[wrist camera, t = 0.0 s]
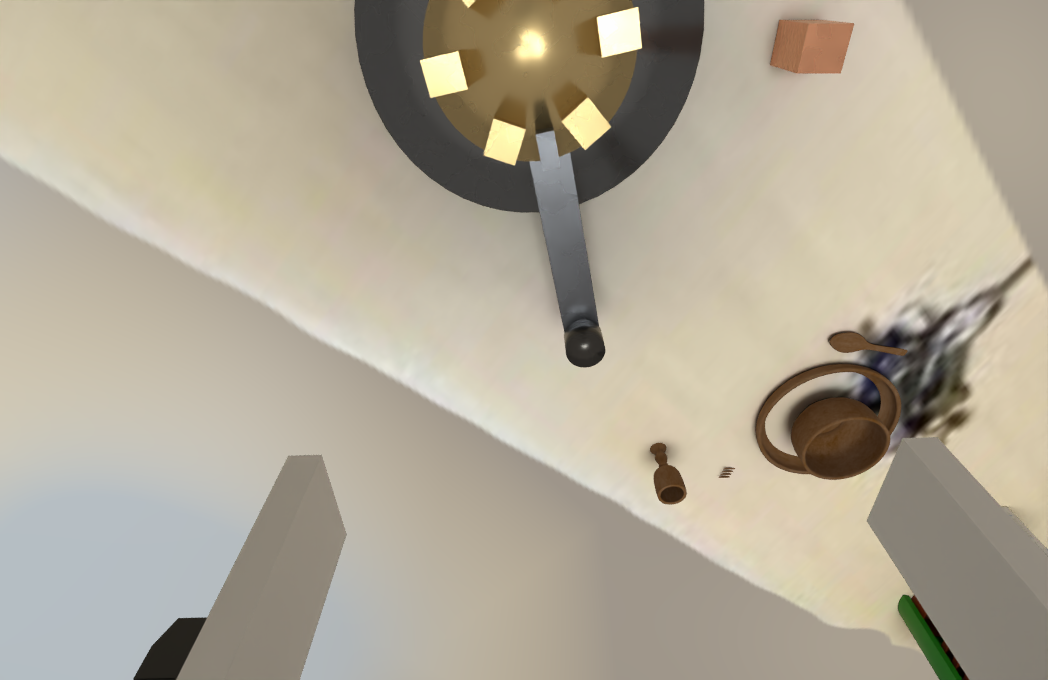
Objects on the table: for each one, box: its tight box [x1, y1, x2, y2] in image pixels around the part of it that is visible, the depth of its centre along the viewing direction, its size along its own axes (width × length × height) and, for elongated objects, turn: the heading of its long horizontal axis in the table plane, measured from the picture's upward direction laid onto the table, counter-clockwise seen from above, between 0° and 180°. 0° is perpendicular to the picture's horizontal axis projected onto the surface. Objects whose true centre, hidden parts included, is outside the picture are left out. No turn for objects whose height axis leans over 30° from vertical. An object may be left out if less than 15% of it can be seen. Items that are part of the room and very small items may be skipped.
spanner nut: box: [420, 0, 642, 367], centre depth 33 cm, size 25×11×5 cm, turn 12°
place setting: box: [650, 332, 907, 504], centre depth 47 cm, size 18×20×6 cm
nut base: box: [354, 0, 854, 212], centre depth 31 cm, size 20×27×4 cm
